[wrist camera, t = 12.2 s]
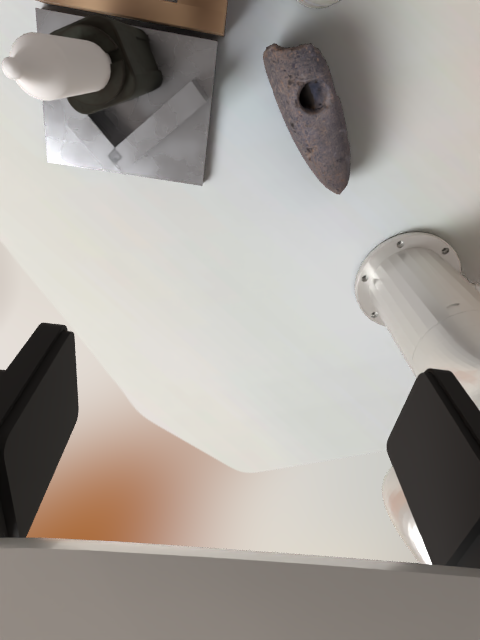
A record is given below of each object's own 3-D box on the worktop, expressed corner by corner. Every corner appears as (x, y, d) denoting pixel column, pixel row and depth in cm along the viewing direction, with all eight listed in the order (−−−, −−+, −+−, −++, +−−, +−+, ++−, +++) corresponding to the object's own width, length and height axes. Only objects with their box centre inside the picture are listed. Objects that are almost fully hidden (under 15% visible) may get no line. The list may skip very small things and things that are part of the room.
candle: (166, 85, 40) (91, 110, 19) (118, 104, 41) (-8, 149, 20) (143, 23, 38) (26, -30, 16) (92, 45, 38) (-84, 22, 17)
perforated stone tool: (356, 176, 46) (374, 192, 40) (310, 196, 47) (321, 216, 41) (308, 23, 39) (321, 16, 33) (256, 52, 40) (260, 50, 34)
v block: (217, 41, 39) (215, 38, 34) (203, 183, 46) (199, 198, 41) (40, 9, 38) (9, 0, 33) (51, 159, 45) (27, 173, 39)
